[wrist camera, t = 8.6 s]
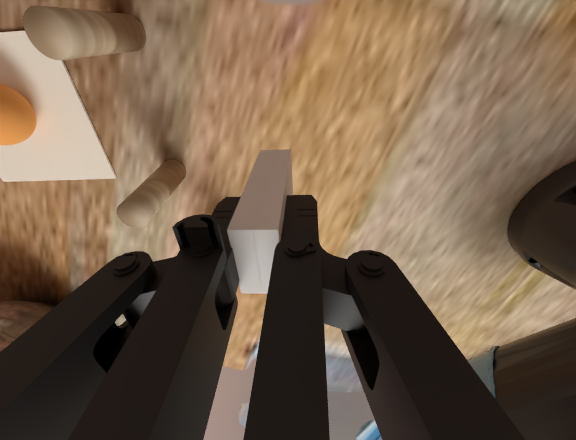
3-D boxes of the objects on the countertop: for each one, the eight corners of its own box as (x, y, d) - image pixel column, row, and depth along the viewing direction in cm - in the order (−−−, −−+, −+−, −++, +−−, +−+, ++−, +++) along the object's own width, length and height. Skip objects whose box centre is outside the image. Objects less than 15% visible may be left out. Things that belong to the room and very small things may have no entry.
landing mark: (48, 29, 23) (47, 29, 23) (117, 177, 31) (116, 178, 31) (-98, 39, 24) (-101, 39, 24) (5, 180, 32) (3, 181, 32)
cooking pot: (117, 359, 56) (76, 430, 46) (18, 341, 54) (-47, 413, 44) (101, 279, 42) (37, 358, 32) (-34, 252, 40) (-148, 327, 30)
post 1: (138, 12, 22) (56, 3, 15) (149, 49, 24) (80, 59, 16) (108, 14, 22) (12, 7, 15) (121, 51, 24) (40, 61, 16)
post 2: (182, 159, 29) (141, 202, 22) (188, 180, 31) (152, 227, 24) (159, 159, 30) (111, 203, 22) (166, 181, 31) (124, 228, 24)
